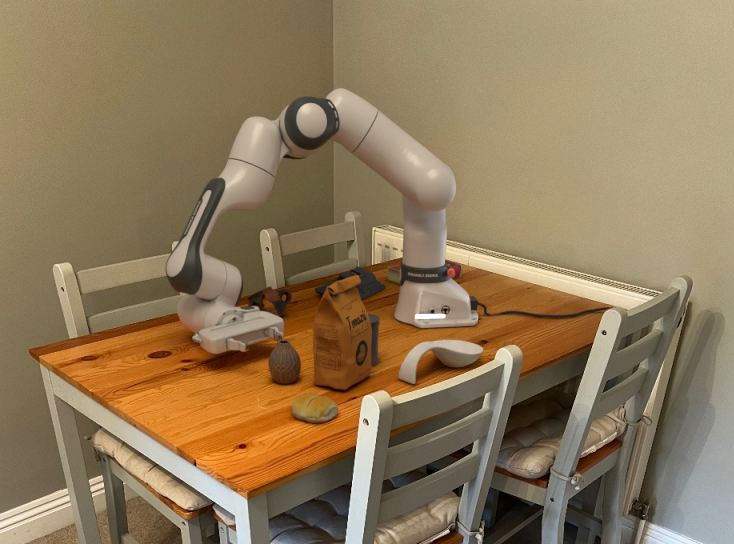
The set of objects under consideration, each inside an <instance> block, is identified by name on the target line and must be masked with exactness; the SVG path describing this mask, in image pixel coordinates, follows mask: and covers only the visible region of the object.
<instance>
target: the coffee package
mask: <svg viewBox="0 0 734 544" xmlns="http://www.w3.org/2000/svg"><path fill="white" fill-rule="evenodd" d="M360 283H361V280H360V278H359V276H358V275H355V276H352V277H349V278H346V279H343V280H340V281H336V282H335V283H333V284H332V285H330V286H328V287H327V288H326V291H325V293H324V295H321V298H320V301H319V302H318V304H317V307H316V309H315V312H314V318H313V330H312V331H313V333H312V334H313V337H312V350H313V367H314V368H313V370H314V372H313V373H314V374H313V375H314V377H313V378H314V385H317V386H323V387H329V388H332V389H335V390H343V391H345V390H347V389H349V388H350V387H352V386H353V385H355V384H357V383H360V382H361V381H363V380H365V379H366V378H368V377H369V376H370V374H371V372H372V370H373V369H372V366H371V342H372V328H371V322H370V319H369V316H368V310H367V308H366V305H364V302H363V301H362V299H361V298H360V294H359V291H358V289H357V288H356V286H357V285H359V284H360Z"/></svg>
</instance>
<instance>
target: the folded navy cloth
mask: <svg viewBox="0 0 734 544" xmlns="http://www.w3.org/2000/svg"><path fill="white" fill-rule="evenodd" d="M355 275H358V276H359V278H360V280H361V283H360V284H359V285H357V286H356V288H357V289H358V291H359V294H360V298H361V300H364V299H367V298H368V297H371V296H373V295H375V294H377V293H379V292H381V291H383V290H384V289H386V285H385V284H384V283H382V281H381V280H378V279H377V277H376V275H375V274H374V273H373V272H372V271H369V270H367V269H364V268H362V267H361V266H356V267H354V268H352V269H350V271H344V272H340V273H339V274H338V277H336V278H335V279H334V280H331V281H328V282H326V283H323V284H322V285H319V286H316V287H314V293H316V294H317V295H321V296H323V295H324V293H325V291H326V288H327V287H328V286H330V285H332V284H333V283H335V282H336V281H340V280H343V279H346V278H349V277H352V276H355Z"/></svg>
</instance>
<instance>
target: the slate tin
mask: <svg viewBox="0 0 734 544" xmlns="http://www.w3.org/2000/svg"><path fill="white" fill-rule="evenodd" d="M367 313H368V312H367ZM368 316H369V319H370V322H371V328H372V342H371V367H374V366H376V365H377V364H378V362H379V337H380V336H379V335H380V334H379V332H380V324H381V317H380V316H379V315H377V314H373V313H368Z"/></svg>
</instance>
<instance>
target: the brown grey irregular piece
mask: <svg viewBox="0 0 734 544" xmlns="http://www.w3.org/2000/svg"><path fill="white" fill-rule="evenodd" d="M284 295H285V300H283V296H284ZM292 298H293V294H292V292H291V291H290V290H289V289H288V288H282V289H279V290H274V289H273V287H272V285H271V286H266V287H265V288H263V289H261V290H258V291H257V292H255V293H253V294H250V295H249V296H248V297H247V298H246V299H247V301H248V306H256V307H258V308H259V310H260V311H263V309H265V307H266V303H264V301H263V300H264V299H265V300H266V301H267V302H268V303H271V304H272V306H273V309H272V310H271V311H268V312H269V313H271V314H274V315H276V316H278V317H280V318H282V317H284V316H286V308H287V307H288V306H289V305H290V304H291V302H292ZM248 306H247V307H248Z"/></svg>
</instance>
